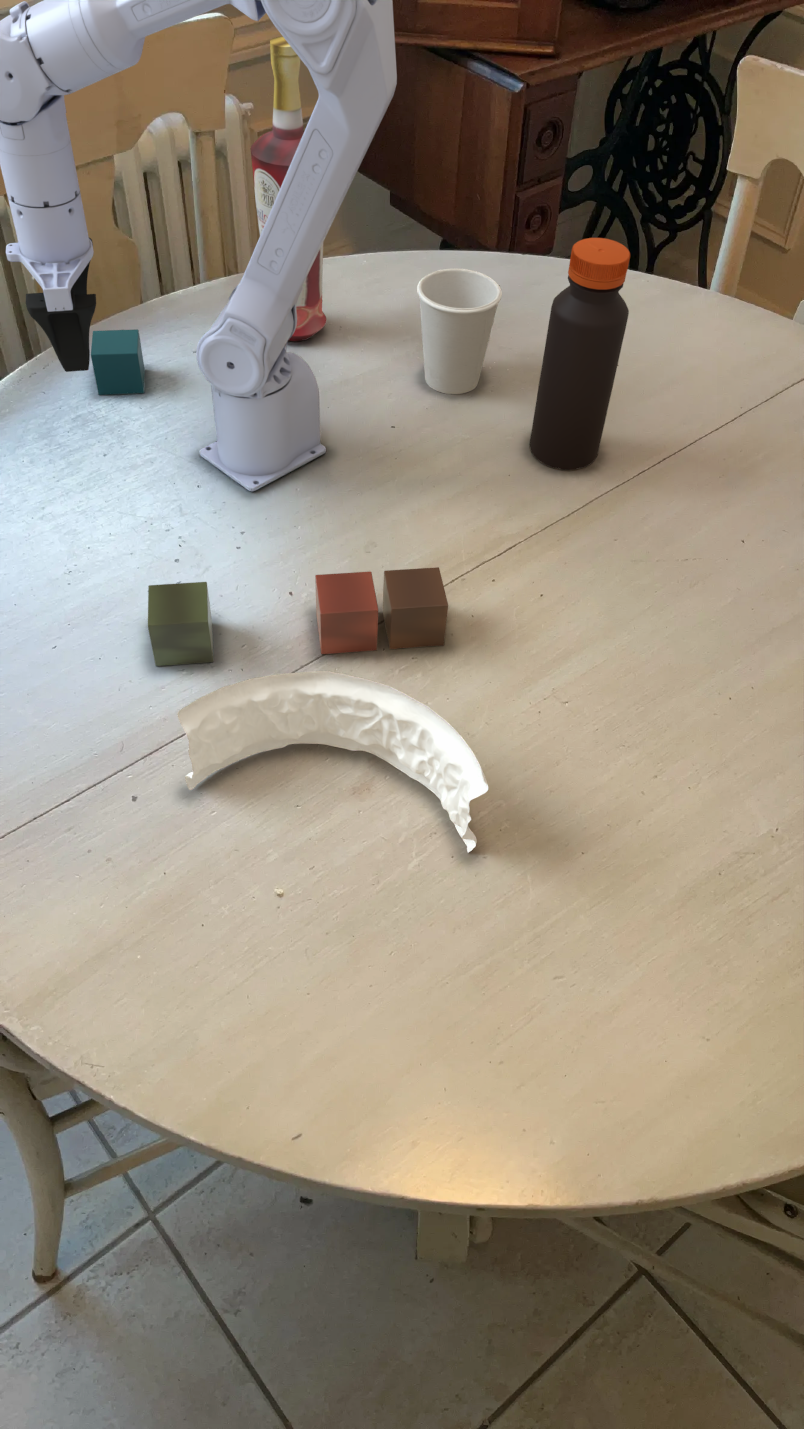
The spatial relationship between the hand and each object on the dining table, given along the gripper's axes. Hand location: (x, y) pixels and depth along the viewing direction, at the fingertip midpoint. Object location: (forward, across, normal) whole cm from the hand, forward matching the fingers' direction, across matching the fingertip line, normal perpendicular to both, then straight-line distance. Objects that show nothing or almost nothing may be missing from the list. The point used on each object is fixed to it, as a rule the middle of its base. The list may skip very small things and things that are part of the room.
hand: (76, 345), depth 95 cm
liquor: (+9, -15, +22) cm, 28 cm away
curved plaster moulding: (+9, +48, +15) cm, 51 cm away
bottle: (+9, +10, +45) cm, 47 cm away
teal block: (+9, -8, +3) cm, 12 cm away
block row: (+9, +31, +16) cm, 36 cm away
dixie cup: (+9, -4, +37) cm, 38 cm away
